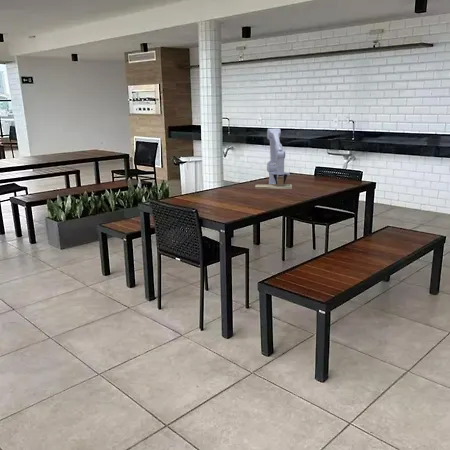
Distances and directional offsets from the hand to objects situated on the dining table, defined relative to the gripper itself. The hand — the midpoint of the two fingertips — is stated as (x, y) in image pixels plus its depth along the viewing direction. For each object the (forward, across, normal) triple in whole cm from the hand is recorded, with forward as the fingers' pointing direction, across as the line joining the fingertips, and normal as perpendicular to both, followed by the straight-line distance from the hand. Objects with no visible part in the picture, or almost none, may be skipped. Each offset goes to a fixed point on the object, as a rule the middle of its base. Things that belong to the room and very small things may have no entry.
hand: (280, 184), depth 367 cm
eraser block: (+1, 0, 0) cm, 1 cm away
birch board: (+2, -5, 0) cm, 6 cm away
